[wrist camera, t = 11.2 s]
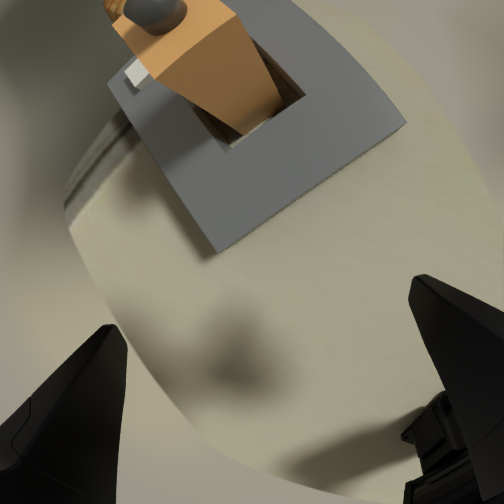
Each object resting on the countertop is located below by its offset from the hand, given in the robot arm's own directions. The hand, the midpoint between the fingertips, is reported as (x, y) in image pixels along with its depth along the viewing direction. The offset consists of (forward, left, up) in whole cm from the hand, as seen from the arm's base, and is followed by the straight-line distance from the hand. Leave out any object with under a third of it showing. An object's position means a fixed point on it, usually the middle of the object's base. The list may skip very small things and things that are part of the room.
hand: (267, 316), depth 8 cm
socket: (+8, -7, -12) cm, 16 cm away
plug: (+8, -7, -12) cm, 17 cm away
